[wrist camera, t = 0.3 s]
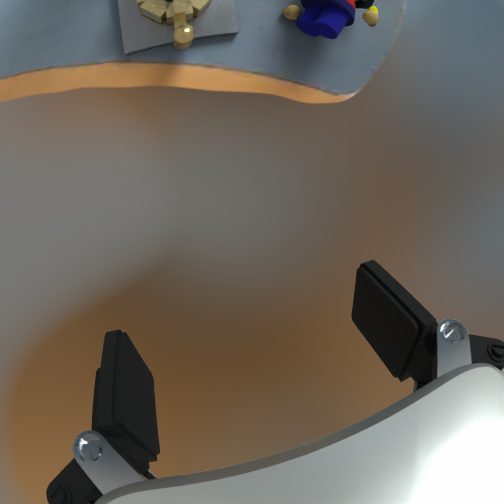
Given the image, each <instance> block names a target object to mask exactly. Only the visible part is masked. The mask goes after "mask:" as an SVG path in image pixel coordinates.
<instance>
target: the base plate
mask: <svg viewBox="0 0 504 504" xmlns="http://www.w3.org/2000/svg"><path fill="white" fill-rule="evenodd" d="M164 1H166V2H168V3H171V2H173V0H164ZM118 7H119V16H120V25H121V33H122V40H123V47H124V54H125V55H129V54H132V53H136V52H140V51H143V50H147V49H151V48H155V47H159V46H164V45H168V44H173V35H174V24H173V23H172V24H167V20H166V19H165V20H164V21H163V22H162V23H159V22H157V21H155V20H153V19H151V18H149V17H147V16H145V15H143V14H142V12H141V10H139V8H138V5H137V0H118ZM186 22H187V24H188V25H191V26H192V27H193V28H194V30H195V36H194V38H193V40H194V39H200V38H207V37H214V36H223V35H232V34H238V33H239V28H238V22H237V16H236V10H235V4H234V0H212V2H211V3H210V4H209V5H208V6H207V7H206V8H205V9H204V10H203V11H202V12H201V13H200V14H199V16H198V17H196V16H194V15H193V16H192V20H188V21H186Z"/></svg>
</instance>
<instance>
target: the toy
mask: <svg viewBox="0 0 504 504" xmlns="http://www.w3.org/2000/svg"><path fill="white" fill-rule="evenodd" d="M373 2H374V0H301V3H302V5H303V7H304V8H305V9H306V10H305V11H304V13H303V14H302V15H301V17H300V18H299V19H298V21H297V22H296V25H297V27H298V28H299V29H300V30H301V31H302V32H304V33H306V34H308V35H310V36H315V37H316V36H318V35H319V34H320V35H322V36H324V37H326V38H330V39H335V38H337V36H338V35H339V33H340V32H341V30H342V29H343V27H344V26H350V25H352V24H353V22H354V16H355V8H364V9H368V11H366V12H364V13H363V19H364V21H365V22H366V23H368V25H369V26H372V27H373V26H376V23H377V22H378V19H379V18H378V10H377V8H376V7H375V6H372V4H373ZM283 13H284V15H285V16H286V17H287V18H288V19H292V20H293V19H295V20H296V19H297V18H298V16H299V15H300V13H301V9H300V8H299V7H298V6H296V5H289V6H288V7H287V8H284V10H283Z"/></svg>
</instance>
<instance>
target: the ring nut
mask: <svg viewBox="0 0 504 504" xmlns="http://www.w3.org/2000/svg"><path fill="white" fill-rule="evenodd" d="M211 2H212V0H173V2H171V3H168V2H166V1H164V0H137V5H138V8H139V10H141V12H142V14H143V15H145V16H147V17H149V18H151V19H153V20H155V21H157V22H159V23H162V22H163V21H164V20H165V19H166V20H167V24H172V23H173V24H174V35H173V46H174V48H175V49H177V50H179V51H184V50H187V49H188V48H190V46H191V44H192V41H193V38H194V36H195V30H194V28H193V27H192V26H191V25H188V24H187V22H186V21H188V20H192V16H193V15H194V16H196V17H198V16H199V14H200V13H201V12H202V11H203V10H204V9H205V8H206V7H207V6H208V5H209V4H210V3H211Z"/></svg>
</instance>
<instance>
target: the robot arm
mask: <svg viewBox="0 0 504 504" xmlns="http://www.w3.org/2000/svg"><path fill="white" fill-rule="evenodd" d="M352 320H353V322H354V324H355V325H356V326H357V328H358V329H359V330H360V332H361V333H362V334H363V336H364V337H365V338H366V340H367V341H368V342H369V344H370V345H371V346H372V348H373V349H374V351H375V352H376V353H377V354H378V356H379V357H380V359H381V360H382V361H383V363H384V364H385V365H386V367H387V368H388V370H389V371H390V372H391V374H392V375H393V376H394V377H398V378H399V380H400V381H401V382H402V381H404V380H406V379H407V378H409V377H412V378H413V380H414V386H413V393H412V394H410V395H408V396H407V397H405V398H403V399H401V400H400V401H398V402H396V403H394V404H392V405H390V406H389V407H387V408H385V409H383V410H381V411H379V412H378V413H375V414H373V415H371V416H370V417H367V418H365V419H363V420H361V421H359V422H357V423H355V424H353V425H350V426H348V427H346V428H344V429H342V430H339V431H337V432H334V433H332V434H330V435H327V436H325V437H322V438H320V439H317V440H315V441H312V442H309V443H307V444H304V445H301V446H298V447H295V448H292V449H289V450H286V451H283V452H280V453H277V454H274V455H270V456H267V457H263V458H260V459H256V460H253V461H249V462H245V463H241V464H237V465H233V466H228V467H224V468H219V469H214V470H208V471H204V472H198V473H192V474H186V475H180V476H173V477H165V478H159V479H158V478H157V477H156V476H155V475H154V474H153V473H151V472H150V471H149V470H148V469H149V462H153V461H157V454H159V453H160V447H159V438H158V429H157V419H156V407H155V394H154V380H153V376H152V373H151V372H150V370H149V369H148V367H147V366H146V364H145V362H144V361H143V359H142V358H141V356H140V354H139V353H138V351H137V350H136V348H135V346H134V345H133V343H132V341H131V340H130V338H129V336H128V335H127V333H126V332H124V333H122V331H121V330H115V331H111V332H106V334H105V339H104V345H103V353H102V360H101V368H98V370H97V372H96V379H95V388H94V399H93V412H92V430H88V431H84V432H82V433H81V434H79V435H78V436H77V438H76V439H75V441H74V443H73V449H72V450H73V455H74V457H75V458H74V459H73V460H72V461H71V462H70V463H69V464H68V465H67V466H66V467H65V468H64V469H63V470H62V471H61V472H60V473H59V474H58V475H57V477H55V479H54V480H53V481H52V482H51V483H50V484H49V486H48V488H47V491H46V493H47V500H48V503H49V504H504V342H502V341H501V340H498V339H494V338H488V337H482V336H476V335H470V334H468V331H467V328H466V327H465V326H464V325H463V324H462V323H461V322H459V321H457V320H454V319H446V320H443V321H442V322H440V323H439V324H438V323H437V322H436V319H435V318H434V317H433V316H432V315H431V314H430V313H429V312H428V311H427V310H426V309H425V308H424V307H423V306H422V305H421V304H420V303H419V302H418V301H417V300H416V299H415V298H414V297H413V296H412V295H411V294H410V293H409V292H408V291H407V290H406V289H405V288H404V287H403V286H402V285H401V284H400V283H398V281H396V280H395V279H394V278H393V277H392V276H391V275H390V274H389V273H388V272H387V271H386V270H385V269H383V268H382V267H381V266H380V265H379V264H378V263H377V262H376V261H374V260H371V261H368V262H365V263H362V264H361V265H360V267H359V268H358V269H357V274H356V284H355V292H354V300H353V308H352Z"/></svg>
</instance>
